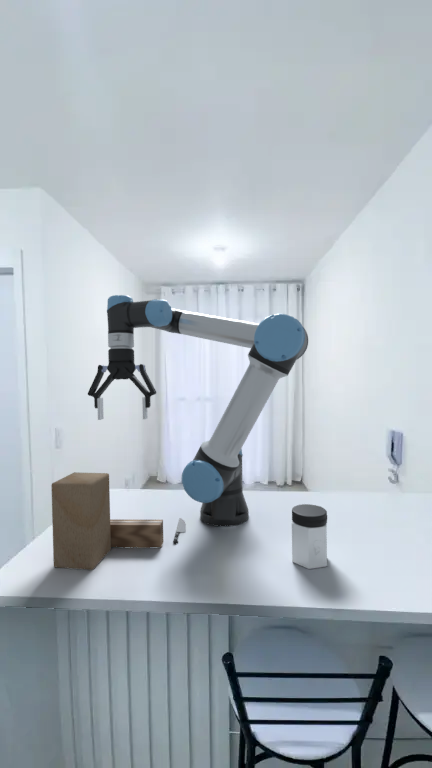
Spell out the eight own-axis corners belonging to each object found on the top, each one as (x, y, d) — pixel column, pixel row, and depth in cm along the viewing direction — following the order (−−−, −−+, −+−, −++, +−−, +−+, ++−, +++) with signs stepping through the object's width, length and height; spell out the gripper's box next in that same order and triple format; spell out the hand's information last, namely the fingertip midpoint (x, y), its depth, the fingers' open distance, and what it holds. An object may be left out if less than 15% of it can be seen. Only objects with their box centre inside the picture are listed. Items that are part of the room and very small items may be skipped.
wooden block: (92, 570, 83) (90, 484, 83) (52, 568, 84) (50, 483, 84) (111, 549, 93) (109, 472, 92) (75, 547, 94) (73, 471, 94)
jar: (300, 571, 81) (299, 518, 81) (285, 554, 89) (284, 506, 89) (336, 566, 83) (335, 514, 83) (318, 549, 91) (317, 502, 91)
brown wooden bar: (163, 541, 97) (162, 519, 97) (160, 547, 93) (160, 524, 93) (75, 541, 98) (75, 518, 98) (70, 547, 95) (69, 524, 94)
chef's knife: (189, 518, 114) (179, 517, 114) (189, 514, 114) (179, 514, 114) (184, 546, 95) (172, 545, 95) (184, 541, 95) (172, 541, 95)
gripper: (75, 348, 105) (77, 421, 106) (159, 346, 104) (161, 420, 105) (85, 350, 113) (87, 418, 113) (164, 348, 112) (166, 417, 112)
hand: (122, 419), depth 109 cm, fingers open, 13 cm apart
